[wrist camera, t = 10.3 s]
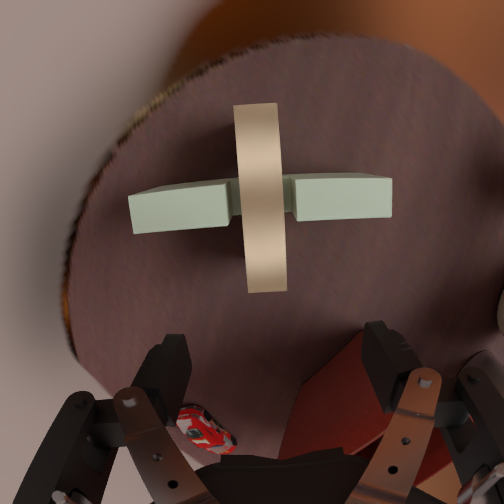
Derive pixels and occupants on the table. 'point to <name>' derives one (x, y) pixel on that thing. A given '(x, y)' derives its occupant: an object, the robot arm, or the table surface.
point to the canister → (501, 313)
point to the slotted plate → (261, 196)
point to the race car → (204, 430)
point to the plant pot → (348, 415)
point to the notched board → (229, 202)
